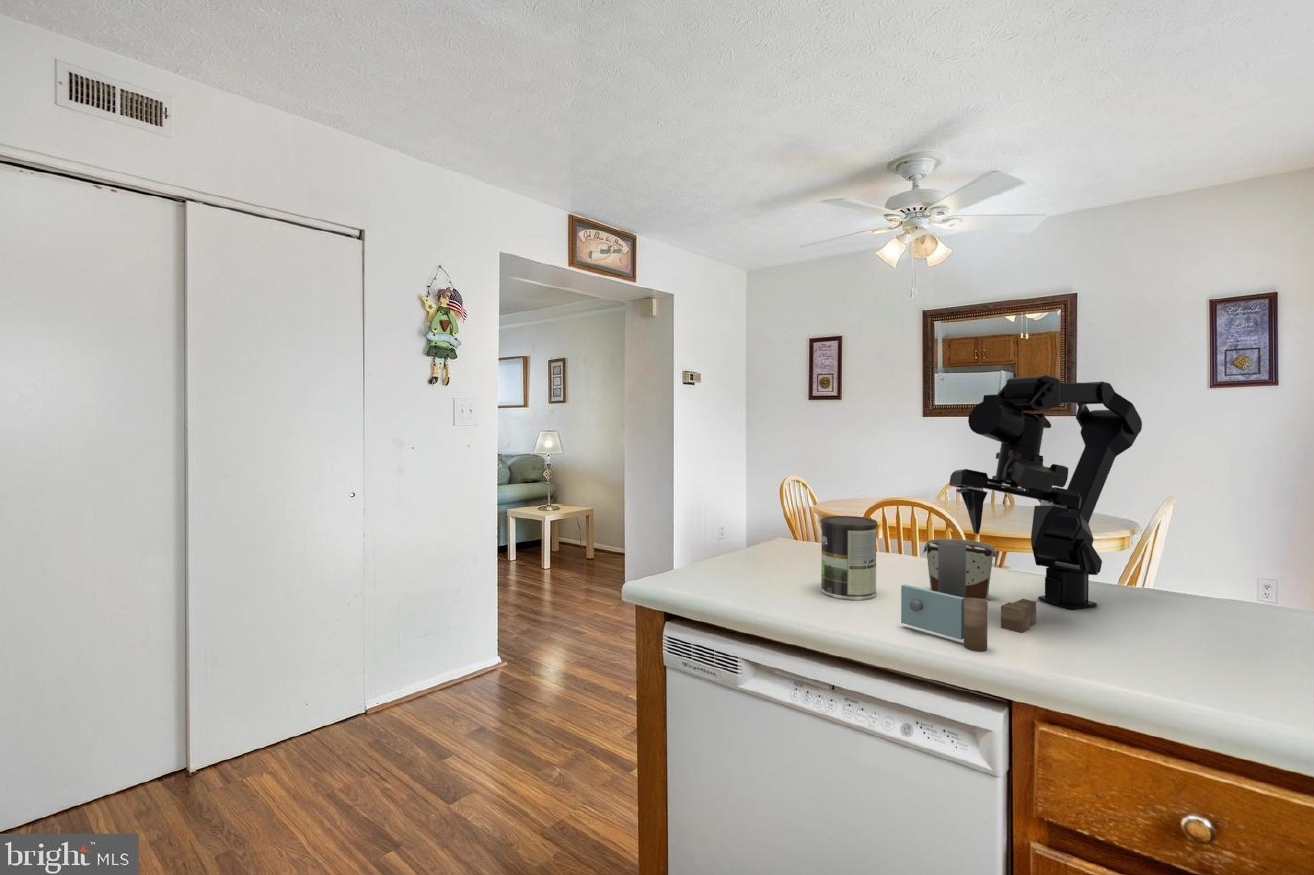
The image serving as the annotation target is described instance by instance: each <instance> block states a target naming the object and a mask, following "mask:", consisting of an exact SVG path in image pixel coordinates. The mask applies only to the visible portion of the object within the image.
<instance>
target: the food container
mask: <svg viewBox="0 0 1314 875" xmlns="http://www.w3.org/2000/svg"><path fill="white" fill-rule="evenodd" d="M943 541H951V542H960V543H964V544H966V598H978V599H983V600H986V601H987V602H988V599H989V598H988V597H989V591H990V590H989V589H990V582H991V573H992V565H993V557H994V558H995V559H997V557H998V556H997V553H996V552H997V551H996V550H995V549H994V545H991V544H989V543H985V542H982V541H976V540H969V539H961V538H960V539H958V538H957V539H956V538H935V539H930V540H927V541H926V542H925V544H924V548H923V551H922V554H925V552H926V558H927V567H928V576H929V586H930V590H932V591H936V592H938V542H943Z"/></svg>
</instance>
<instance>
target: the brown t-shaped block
mask: <svg viewBox="0 0 1314 875" xmlns="http://www.w3.org/2000/svg"><path fill="white" fill-rule="evenodd" d="M988 604H989V603H988V600H987V601H986V600H983V599H978V598H965V599H964V639H963V647H964V648H965V649H967V650H970V651H974V652H986V651H987V650H988V615H989V614H988V608H989V607H988ZM1036 623H1037V601H1036V600H1030V599H1027V598H1022V599H1019V600H1017V601H1015V602H1007V603H1005V604H1002V605H1001V606H1000V628H1001V629H1005V630H1008V631H1013V632H1016V633H1020V634H1021V633H1022V634H1023V633H1024V632H1026V631H1028V630H1030V628H1031V626H1033V625H1035V624H1036Z"/></svg>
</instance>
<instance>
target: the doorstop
mask: <svg viewBox="0 0 1314 875" xmlns="http://www.w3.org/2000/svg"><path fill="white" fill-rule="evenodd" d="M938 592H940V593H945V594H949V595H954V596H958V597H963V598H966V544H964V543H960V542H951V541H943V542H938Z"/></svg>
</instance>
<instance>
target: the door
mask: <svg viewBox="0 0 1314 875" xmlns="http://www.w3.org/2000/svg"><path fill="white" fill-rule="evenodd" d="M900 588H901V589H900V592H901V595H900V600H901V601H900V610H901V611H900V622H901V624H903V625H904V624H905V625H906V626H910V627H914V628H918V629H922V630H925V631H929V632H932V633H936V634H939V635H943V636H946V637H950V638H954V639H957V640H961V641H962V640H964V599H965V598H963V597H958V596H954V595H949V594H945V593H940V592H936V591H932V590H931V589H926V588H923V587H919V586H918V587H917V586H913V585H910V584H901V587H900Z"/></svg>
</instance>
